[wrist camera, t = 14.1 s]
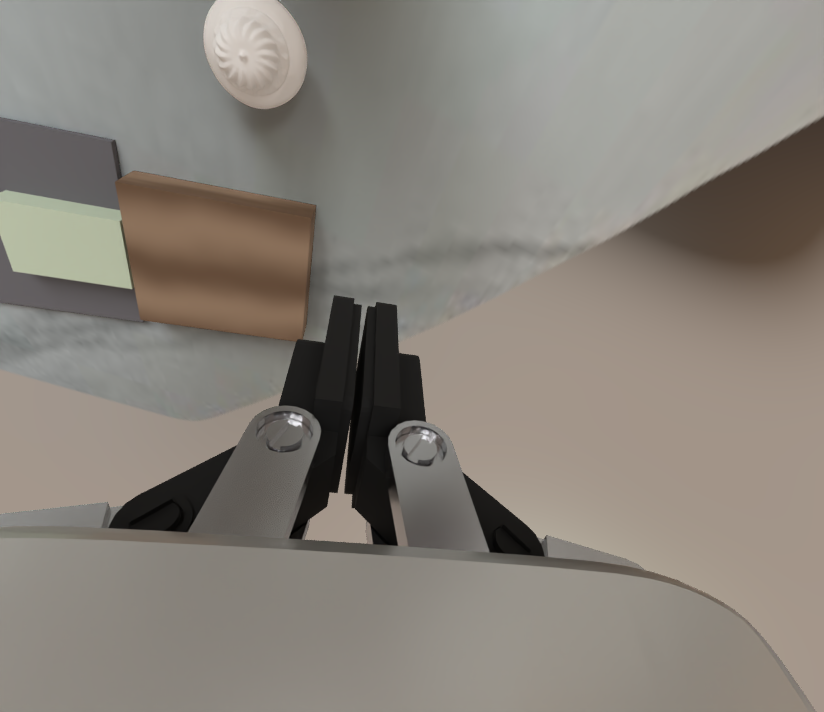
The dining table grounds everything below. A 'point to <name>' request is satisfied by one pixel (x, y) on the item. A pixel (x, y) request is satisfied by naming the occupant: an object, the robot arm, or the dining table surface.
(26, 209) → the pale green block
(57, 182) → the mat
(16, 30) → the dining table surface
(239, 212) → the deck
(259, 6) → the white swirled ornament
